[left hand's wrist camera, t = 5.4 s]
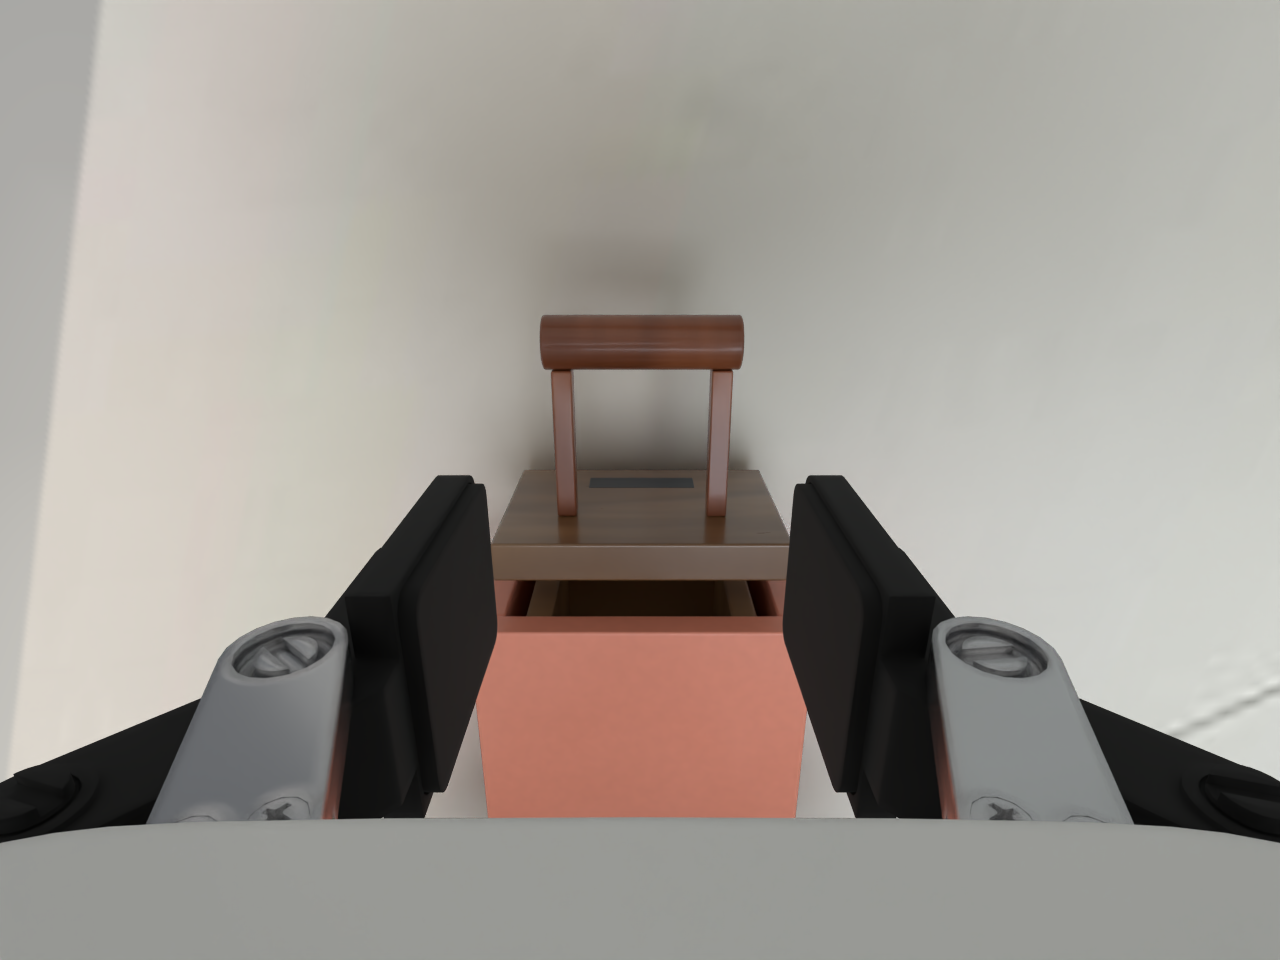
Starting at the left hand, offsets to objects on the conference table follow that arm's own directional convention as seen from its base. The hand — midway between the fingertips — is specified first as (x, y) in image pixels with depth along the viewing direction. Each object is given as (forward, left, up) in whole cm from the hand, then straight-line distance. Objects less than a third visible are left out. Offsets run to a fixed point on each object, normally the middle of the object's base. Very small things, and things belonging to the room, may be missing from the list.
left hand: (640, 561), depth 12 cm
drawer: (+8, 0, -13) cm, 15 cm away
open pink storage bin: (+14, +1, -14) cm, 20 cm away
